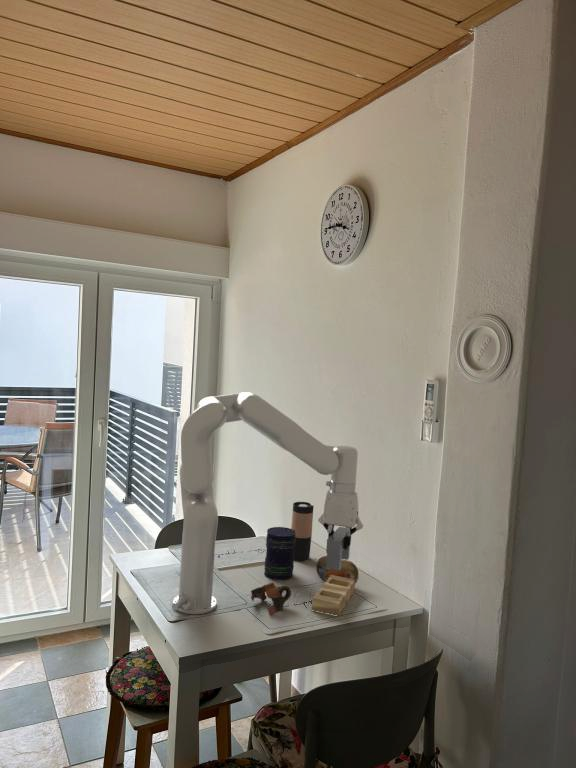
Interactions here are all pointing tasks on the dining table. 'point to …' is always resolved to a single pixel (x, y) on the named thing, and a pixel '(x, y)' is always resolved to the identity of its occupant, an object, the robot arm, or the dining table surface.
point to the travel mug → (302, 529)
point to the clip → (336, 549)
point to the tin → (346, 570)
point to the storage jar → (279, 553)
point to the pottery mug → (272, 596)
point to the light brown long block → (333, 595)
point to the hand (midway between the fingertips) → (339, 545)
